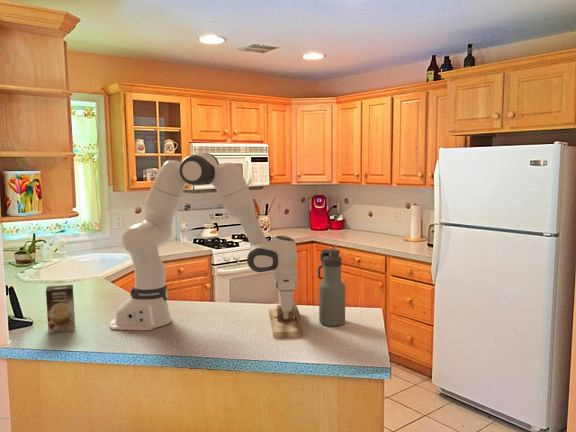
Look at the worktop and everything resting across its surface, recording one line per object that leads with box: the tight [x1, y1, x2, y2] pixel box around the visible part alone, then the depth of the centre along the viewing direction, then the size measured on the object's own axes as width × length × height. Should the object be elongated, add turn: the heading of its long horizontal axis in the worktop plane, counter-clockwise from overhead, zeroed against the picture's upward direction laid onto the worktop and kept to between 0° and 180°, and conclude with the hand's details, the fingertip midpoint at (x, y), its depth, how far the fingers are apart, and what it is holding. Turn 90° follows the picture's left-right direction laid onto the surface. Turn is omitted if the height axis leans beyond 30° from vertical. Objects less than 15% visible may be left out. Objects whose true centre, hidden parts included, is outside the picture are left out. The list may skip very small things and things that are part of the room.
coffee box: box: [45, 284, 76, 334], centre depth 183 cm, size 9×6×16 cm
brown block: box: [274, 304, 294, 322], centre depth 185 cm, size 7×4×5 cm, turn 95°
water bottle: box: [317, 248, 346, 327], centre depth 186 cm, size 10×10×28 cm
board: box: [268, 301, 304, 339], centre depth 186 cm, size 11×26×4 cm, turn 5°
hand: (285, 315), depth 185 cm, fingers closed on brown block, 4 cm apart
